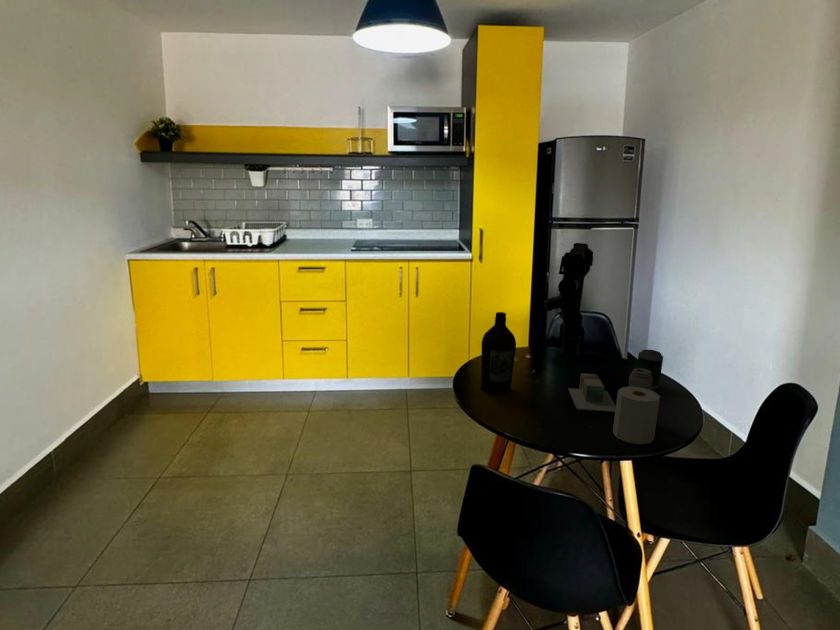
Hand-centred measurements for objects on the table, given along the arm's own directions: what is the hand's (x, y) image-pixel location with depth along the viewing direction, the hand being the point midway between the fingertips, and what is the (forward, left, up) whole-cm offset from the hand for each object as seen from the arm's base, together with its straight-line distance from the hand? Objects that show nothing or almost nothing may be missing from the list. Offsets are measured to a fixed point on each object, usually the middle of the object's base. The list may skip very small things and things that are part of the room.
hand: (566, 334), depth 199 cm
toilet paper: (+38, +34, -13) cm, 53 cm away
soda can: (-2, +28, -13) cm, 31 cm away
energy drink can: (+28, +32, -13) cm, 45 cm away
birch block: (+13, +13, -10) cm, 21 cm away
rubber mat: (+21, +17, -13) cm, 30 cm away
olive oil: (+32, -10, -13) cm, 36 cm away
